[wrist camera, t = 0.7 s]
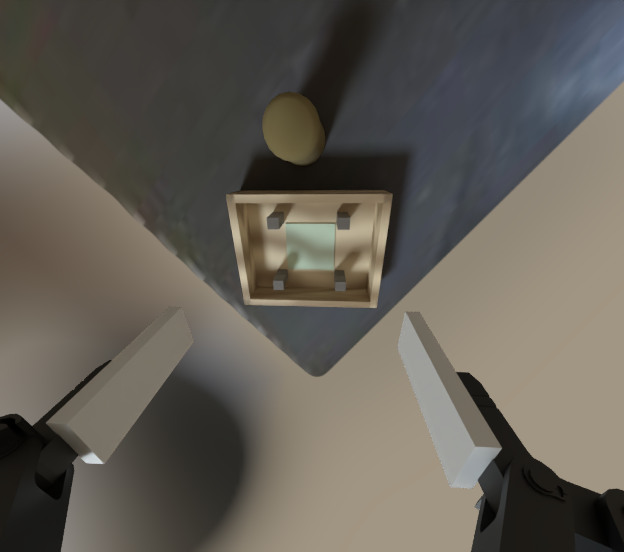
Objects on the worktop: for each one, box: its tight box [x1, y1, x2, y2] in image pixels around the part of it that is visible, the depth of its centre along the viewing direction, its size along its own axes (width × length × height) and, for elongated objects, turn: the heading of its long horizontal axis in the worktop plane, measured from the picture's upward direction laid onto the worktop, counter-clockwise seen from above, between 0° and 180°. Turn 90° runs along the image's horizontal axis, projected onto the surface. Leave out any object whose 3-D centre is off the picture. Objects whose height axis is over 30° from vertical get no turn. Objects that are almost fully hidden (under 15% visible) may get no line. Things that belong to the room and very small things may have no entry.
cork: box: [262, 92, 326, 166], centre depth 23 cm, size 6×6×11 cm
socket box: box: [226, 190, 393, 308], centre depth 32 cm, size 16×20×5 cm
